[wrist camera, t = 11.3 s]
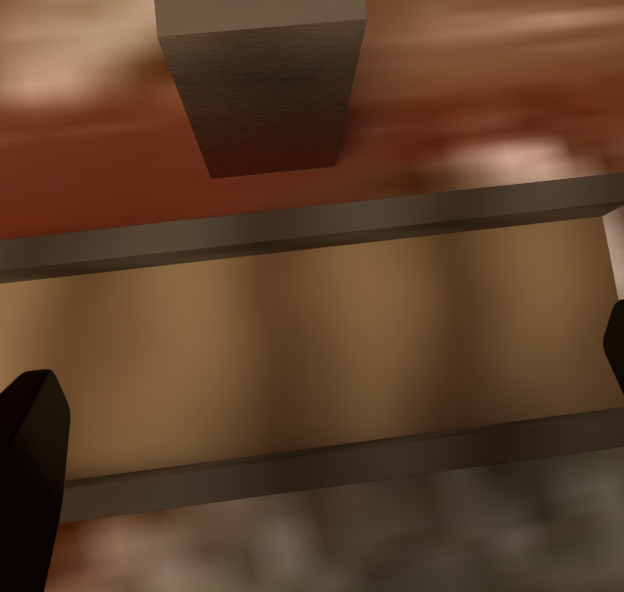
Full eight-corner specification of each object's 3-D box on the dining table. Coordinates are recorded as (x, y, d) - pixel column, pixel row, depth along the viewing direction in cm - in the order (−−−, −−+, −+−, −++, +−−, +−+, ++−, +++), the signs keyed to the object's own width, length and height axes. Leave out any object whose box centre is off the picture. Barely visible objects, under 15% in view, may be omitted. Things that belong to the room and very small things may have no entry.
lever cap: (334, 166, 24) (366, 19, 14) (211, 178, 24) (157, 36, 14) (321, 67, 25) (344, -140, 15) (200, 78, 24) (142, -126, 15)
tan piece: (571, 205, 24) (627, 172, 20) (613, 428, 23) (680, 438, 19) (-29, 272, 23) (-95, 250, 19) (-18, 513, 22) (-86, 543, 18)
